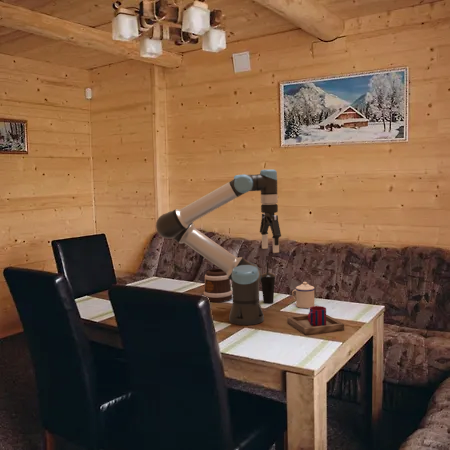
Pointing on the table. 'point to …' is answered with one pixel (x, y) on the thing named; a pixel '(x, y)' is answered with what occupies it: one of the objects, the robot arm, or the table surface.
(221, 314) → the table surface
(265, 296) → the drinking cup
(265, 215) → the robot arm
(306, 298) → the teacup with lid
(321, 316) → the cup
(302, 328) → the walnut tray
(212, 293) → the mug
